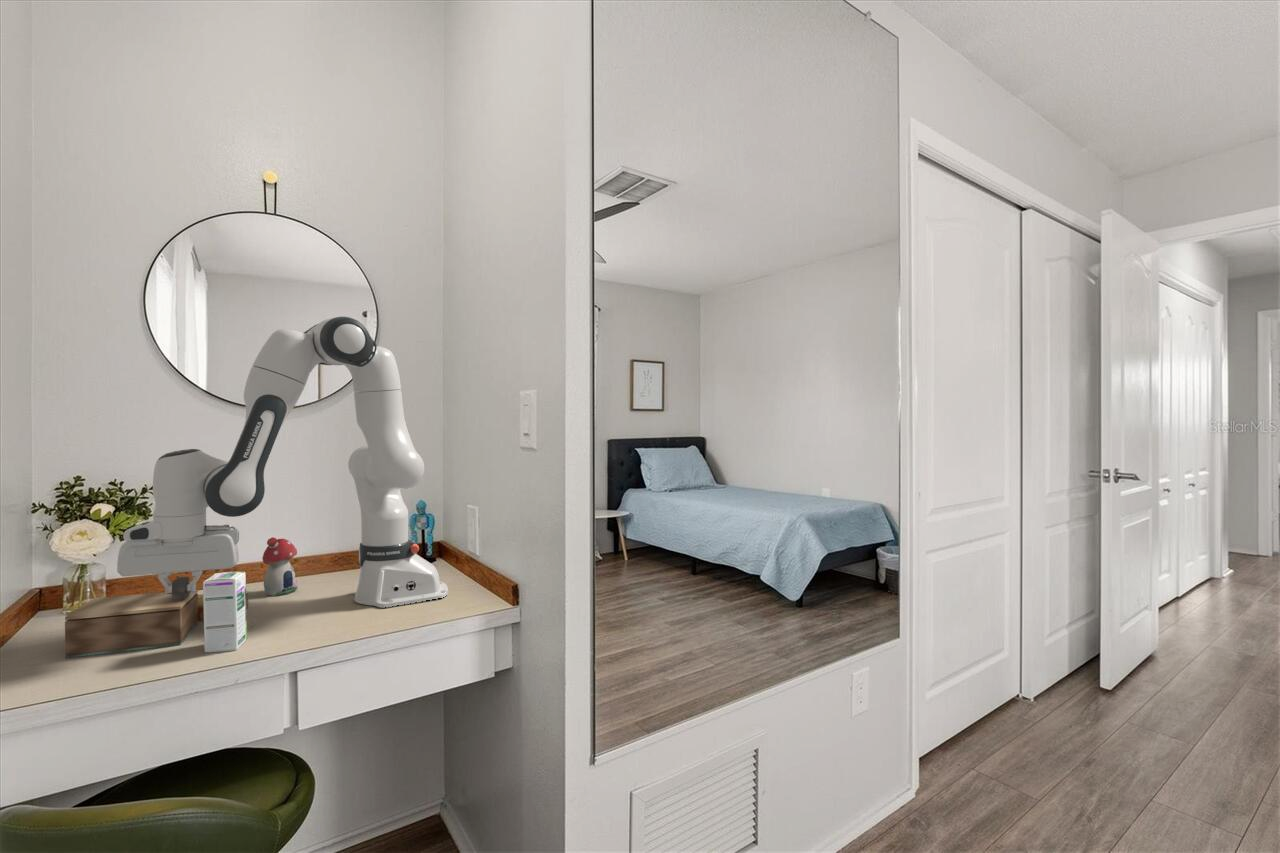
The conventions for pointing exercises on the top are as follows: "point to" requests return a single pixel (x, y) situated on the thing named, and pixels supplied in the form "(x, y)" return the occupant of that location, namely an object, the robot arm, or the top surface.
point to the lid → (136, 602)
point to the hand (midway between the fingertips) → (180, 592)
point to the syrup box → (224, 611)
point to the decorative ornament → (279, 567)
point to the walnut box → (130, 631)
